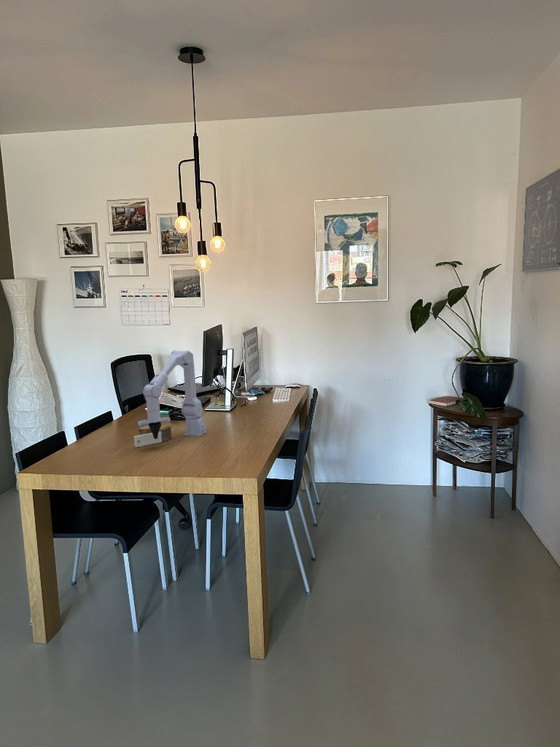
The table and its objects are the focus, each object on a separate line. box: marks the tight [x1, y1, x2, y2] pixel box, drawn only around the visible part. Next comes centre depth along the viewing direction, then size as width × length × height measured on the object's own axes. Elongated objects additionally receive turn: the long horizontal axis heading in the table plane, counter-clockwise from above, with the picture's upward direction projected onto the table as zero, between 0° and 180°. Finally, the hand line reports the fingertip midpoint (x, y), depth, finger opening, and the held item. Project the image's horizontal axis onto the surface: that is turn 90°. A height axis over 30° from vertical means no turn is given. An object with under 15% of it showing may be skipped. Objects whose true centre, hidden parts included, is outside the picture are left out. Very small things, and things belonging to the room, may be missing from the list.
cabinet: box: [137, 424, 172, 443], centre depth 260 cm, size 15×7×6 cm, turn 69°
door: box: [133, 431, 163, 448], centre depth 250 cm, size 14×2×5 cm, turn 124°
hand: (155, 438), depth 245 cm, fingers closed
